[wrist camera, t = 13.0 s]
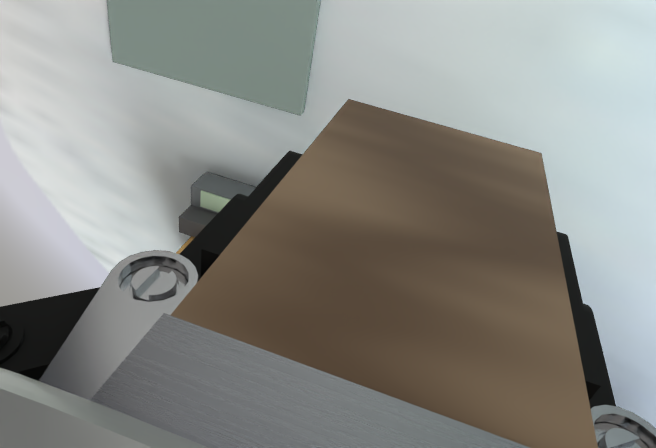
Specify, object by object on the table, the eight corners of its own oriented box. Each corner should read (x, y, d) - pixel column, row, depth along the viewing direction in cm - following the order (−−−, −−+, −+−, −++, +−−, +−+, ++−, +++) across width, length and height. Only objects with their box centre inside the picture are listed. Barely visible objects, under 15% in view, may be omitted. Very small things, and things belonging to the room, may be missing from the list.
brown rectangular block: (544, 151, 11) (652, 672, 3) (472, 300, 13) (442, 769, 6) (346, 96, 11) (66, 427, 4) (315, 248, 14) (114, 614, 7)
